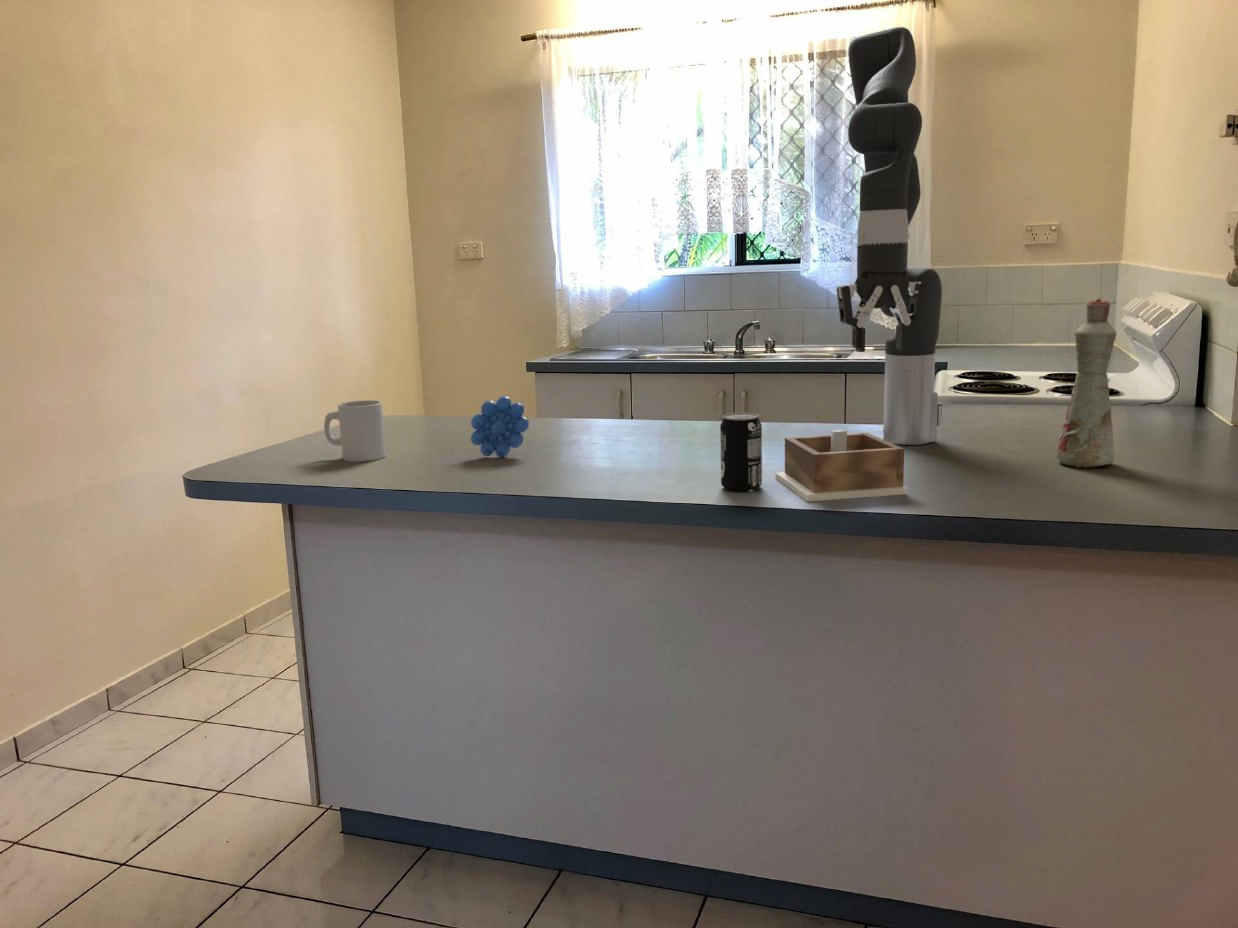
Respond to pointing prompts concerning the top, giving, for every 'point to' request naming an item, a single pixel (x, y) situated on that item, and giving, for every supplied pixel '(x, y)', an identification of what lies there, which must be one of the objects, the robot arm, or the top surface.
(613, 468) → the top surface
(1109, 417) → the bottle
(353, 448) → the mug
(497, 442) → the blue flower ornament
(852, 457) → the collar
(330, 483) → the top surface
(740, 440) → the beverage can
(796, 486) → the white square baseplate
